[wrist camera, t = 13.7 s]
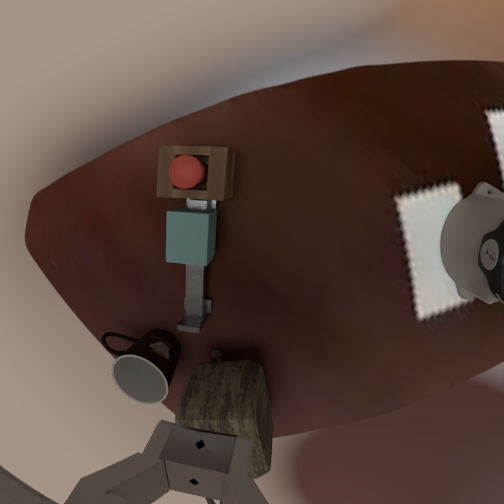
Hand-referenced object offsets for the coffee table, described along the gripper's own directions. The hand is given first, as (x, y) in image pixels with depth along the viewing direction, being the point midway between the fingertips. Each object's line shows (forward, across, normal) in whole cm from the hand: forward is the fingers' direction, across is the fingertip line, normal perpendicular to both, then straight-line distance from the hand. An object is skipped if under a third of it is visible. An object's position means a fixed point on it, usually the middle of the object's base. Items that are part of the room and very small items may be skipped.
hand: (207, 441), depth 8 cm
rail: (+34, +9, +4) cm, 35 cm away
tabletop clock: (+34, +2, +23) cm, 41 cm away
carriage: (+32, +9, 0) cm, 34 cm away
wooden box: (+34, +9, -8) cm, 36 cm away
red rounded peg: (+30, +9, -8) cm, 33 cm away
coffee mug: (+34, +16, +18) cm, 42 cm away
